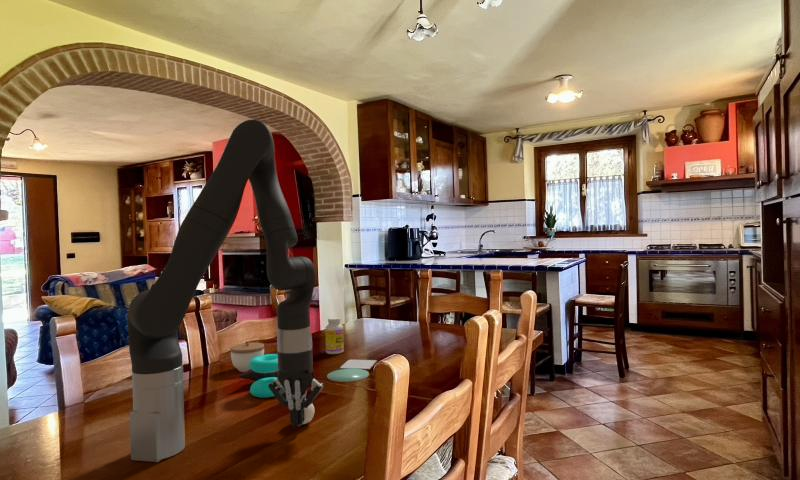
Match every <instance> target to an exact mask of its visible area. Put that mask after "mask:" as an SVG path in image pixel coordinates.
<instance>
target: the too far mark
mask: <svg viewBox="0 0 800 480" xmlns="http://www.w3.org/2000/svg"><path fill="white" fill-rule="evenodd" d="M377 361H378V360H377V359H348V360H347V361H346V362H344V363H343V364H342V365H341V366H340V367H339V369H362V370H370V369H371V368H372V367H373V366H374V365H375V364H376V363H377Z"/></svg>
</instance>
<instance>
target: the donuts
mask: <svg viewBox="0 0 800 480" xmlns="http://www.w3.org/2000/svg"><path fill="white" fill-rule="evenodd" d="M249 366H250V368H251V369H252V370H253V371H254V372H257V373H272V372H276V371H278V372H279V369H278V353H267V354H264V355H261V356H257V357H255V358H253V359H252V360H251V361H250V363H249ZM276 379H277V378H276V377H269V378H263V379H260V380H258V381H253V383H252V384H251V386H250V389H249V390H250V391H249V392H250V394H251V396H253V397H255V398H260V399H266V398H267V399H268V398H274V397H275V395H274V394H273V393H272V391H271V390H270V389H269V384H270V383H272V382H274V381H275V380H276ZM283 389H284V388H283ZM275 398H276V397H275Z"/></svg>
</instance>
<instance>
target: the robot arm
mask: <svg viewBox="0 0 800 480" xmlns="http://www.w3.org/2000/svg"><path fill="white" fill-rule="evenodd" d="M275 147H276V146H275V141H274V137H273V134H272V131H271V130H270V128H269V127H268V126H267V124H266V123H264V122H263V121H262V120H259V119H247V120H245V121H243V122H240V123H238V125H236V127H235V128H234V129H233V130H232V132H231V135H230V136H229V139H228V141H227V142H226V146H225V147H224V150H223V153H222V155H221V157H220V159H219V161H218V163H217V165H216V166H215V168H214V170H213V172H212V174H210V177H209V178H208V180H207V181H206V183H205V184H204V185H203V188H202V190H200V193H199V195H198V196H197V198H196V199H195V200H194V202H193V204H192V205H191V207H190V209H189V210H188V212H187V214H186V215H185V217H184V219H183V221H182V222H181V225H180V226H179V229H178V231H177V234H176V236H175V240H174V243H173V246H172V249H171V253H170V256H169V258H168V261H167V263H166V265H165V267H164V269H163V270H162V271H161V273H160V275H159V277H158V278H157V279H156V281H155V283H154V284H153V285H152V287H151V288H149V289H145V290H143V291H141V292H139V293H138V294H137V295H136V296H134V297H133V299H132V300H131V302H130V304H129V306H128V310H127V329H128V330H127V331H128V332H127V333H128V345H129V346H128V347H129V357H130V362H131V375H132V376H131V378H132V381H131V383H132V411H130V413H129V434H130V435H129V436H130V437H129V439H130V460H131V461H136V462H137V461H138V462H152V463H159V462H160V461H162V460H163V459H168V458H170V457H172V456H175V455H178V454H179V453H181V452H182V451H183V450H184V449H185V447H186V442H185V441H186V438H185V437H186V436H185V435H186V434H185V433H186V431H185V408H184V407H185V399H184V370H183V369H184V366H183V352H182V348H181V346H180V343H179V342H180V341H179V334H178V333H179V332H178V328H179V327H180V326H181V325H182V323H183V322H184V321H183V320H184V319H185V316H186V314H187V313H188V310H189V307H190V305H191V303H192V300H193V298H194V295H195V293H196V290H197V288H198V286H199V284H200V283H201V280H202V278H203V276H204V274H206V272H207V270H208V269H209V267H210V266H211V264H212V262H213V260H214V259H215V257H216V255H217V254H218V251H219V250H220V249H221V247H222V246H223V244H224V242H225V240H226V238H227V237H228V235H229V233H230V231H231V230H232V227H233V226H234V224H235V221H236V220H237V217H238V213H239V211H240V206H241V203H242V200H243V196H244V192H245V189H246V186H247V184H248V182H249V184H250V186H251V189H252V192H253V196H254V199H255V204H256V210H257V215H258V220H259V224H260V227H261V231H262V233H263V238H264V240H265V244H266V246H265V247H266V248H265V250H266V252H265V254H266V255H265V256H266V276H267V279H268V282H269V284H270V285H271V286H272V287H273V288H274V289H275V290H277V291H281V292H283V291H289V290H290V293H289V295H288V297H287V298H286V299H284V300H282V301H280V302H279V303H278V305H277V307H276V309H277V310H276V313H277V314H276V315H277V317H276V319H277V334H276V349H277V352H276V354H278V369H279V371H278V372H279V373H278V375H277V379H276V380H275V381H274V382H272V383H270V384H269V389H270V390H271V391H272V393H273V394H274V395H275V398H276V400H277V401H278V402H279V404H280V405H281V406H282V407H284V408H288V409H289V422H290V424H292V427H300V426H302V423H303V422H304V420H305V412H304V408H307V407H308V406H309V405H311V404H313V403H314V401H315V400H316V398H317V397H318V396H319V394H320V393H321V391H322V390H323V389H324V388H325V383H324V382H319V380H317V379H316V375H315V373H314V370H313V369H314V368H313V367H314V361H313V360H314V359H313V339H312V338H313V336H312V330H311V317H310V315H311V314H310V313H311V312H310V311H311V310H310V308H311V307H310V306H311V303H312V298H313V294H314V289H315V284H316V278H317V274H316V272H317V271H316V268H315V266H314V265H315V264H314V263H313V262H312V260H311V259H310V258H308V257H307V256H291V257H289V256H288V250H289V249H291V248H294V246H296V245H297V243H298V241H299V240H298V239H299V238H298V233H297V230H296V228H295V227H296V226H295V223H294V220H293V218H292V214H291V211H290V208H289V206H288V203H287V201H286V198H285V197H284V193H283V191H282V188H281V186H280V182H279V178H278V177H279V176H278V173H277V172H278V171H277V165H276V164H277V163H276V155H275V154H276V148H275ZM283 388H284V389H283ZM309 388H310V390H311V392H310V393H309V395H308V396H307V394H308V393H307V392H308V390H309ZM306 397H307V398H306Z"/></svg>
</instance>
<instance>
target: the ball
mask: <svg viewBox="0 0 800 480" xmlns="http://www.w3.org/2000/svg"><path fill="white" fill-rule="evenodd" d="M315 411H316V410H315V406H314V404H313V403H312V404H311V405H309V406H308V407H307V408H304V412H305V420H304V422H303V423H302V425H307V424H308V423H310V422H311V421H312V419H313V418H314V415H315ZM302 425H301V426H302Z"/></svg>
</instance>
